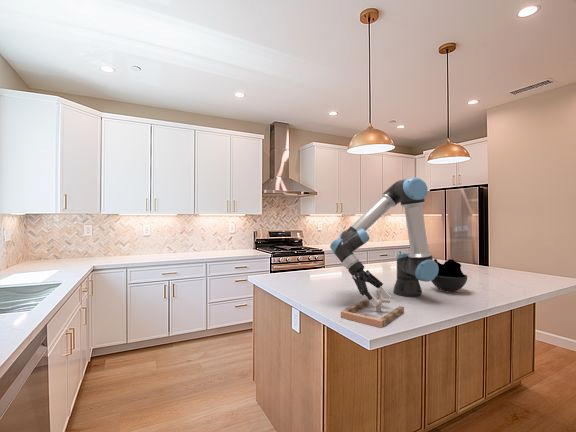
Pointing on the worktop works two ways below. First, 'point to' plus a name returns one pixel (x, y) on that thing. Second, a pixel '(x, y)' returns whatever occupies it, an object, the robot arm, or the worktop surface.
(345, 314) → the band bar
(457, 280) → the bowl of black rocks
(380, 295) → the pipe connector
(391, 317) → the brown wooden frame
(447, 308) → the worktop surface
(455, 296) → the worktop surface
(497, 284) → the worktop surface
